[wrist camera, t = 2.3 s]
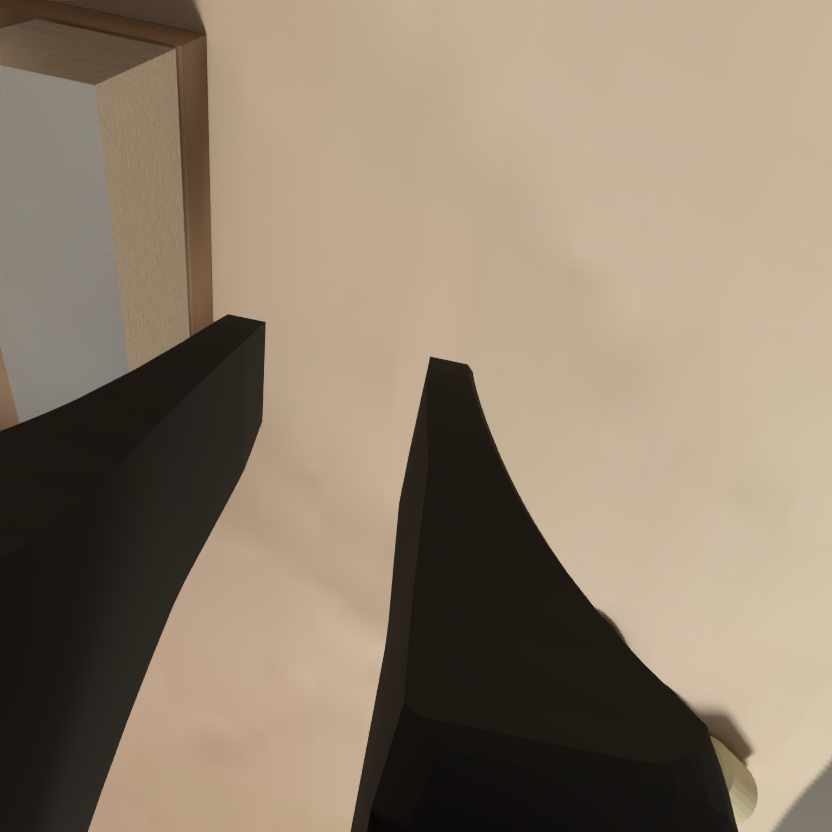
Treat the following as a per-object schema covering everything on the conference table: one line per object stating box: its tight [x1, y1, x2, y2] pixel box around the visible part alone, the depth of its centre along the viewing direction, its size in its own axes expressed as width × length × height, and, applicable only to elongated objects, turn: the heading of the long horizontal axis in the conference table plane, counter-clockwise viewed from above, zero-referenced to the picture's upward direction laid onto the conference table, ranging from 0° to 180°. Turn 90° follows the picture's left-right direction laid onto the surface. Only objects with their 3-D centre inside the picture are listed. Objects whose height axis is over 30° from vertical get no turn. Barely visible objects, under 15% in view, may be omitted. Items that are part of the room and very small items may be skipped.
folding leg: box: [0, 19, 190, 423], centre depth 17 cm, size 12×3×4 cm, turn 170°
